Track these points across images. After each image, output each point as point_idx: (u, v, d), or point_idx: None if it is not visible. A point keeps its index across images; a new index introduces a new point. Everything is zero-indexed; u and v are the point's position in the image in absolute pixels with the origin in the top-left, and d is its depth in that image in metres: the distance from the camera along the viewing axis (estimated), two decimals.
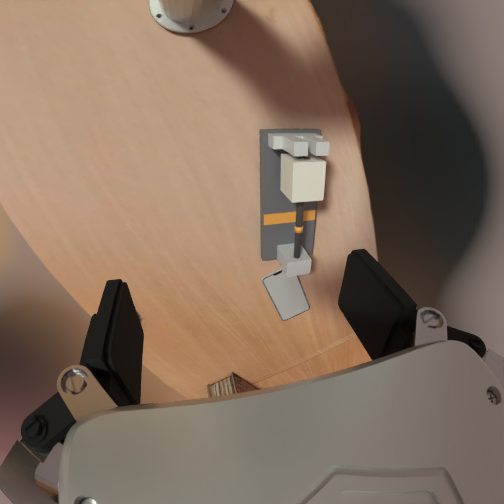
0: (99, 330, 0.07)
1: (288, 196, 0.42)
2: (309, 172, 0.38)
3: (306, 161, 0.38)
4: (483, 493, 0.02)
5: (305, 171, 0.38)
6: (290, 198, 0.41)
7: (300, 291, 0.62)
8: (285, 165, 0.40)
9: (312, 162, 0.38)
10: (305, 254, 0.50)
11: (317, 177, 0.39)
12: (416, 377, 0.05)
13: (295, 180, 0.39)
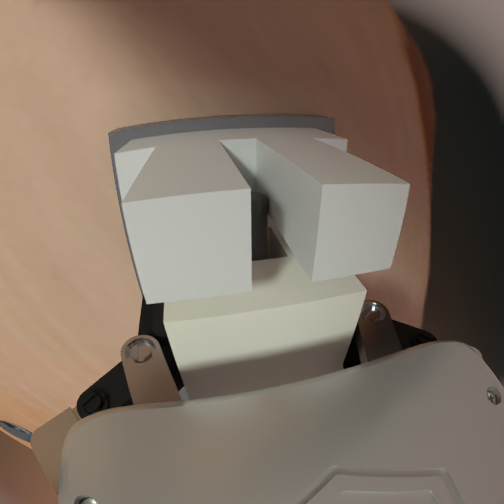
0: None
1: None
2: (268, 349, 0.07)
3: (253, 299, 0.07)
4: (483, 493, 0.02)
5: (248, 350, 0.07)
6: None
7: None
8: None
9: (289, 306, 0.07)
10: None
11: (311, 358, 0.08)
12: (416, 377, 0.05)
13: (200, 385, 0.07)
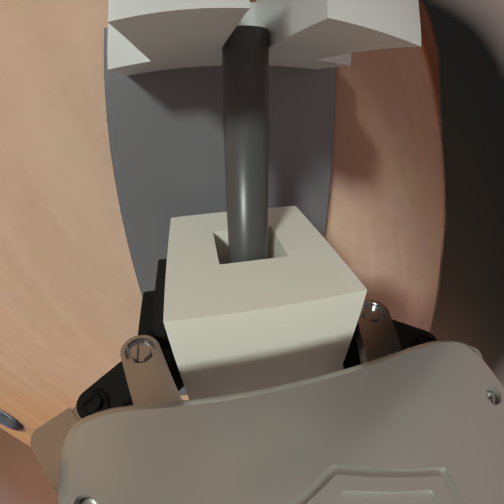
0: (161, 301, 0.09)
1: None
2: (268, 348, 0.07)
3: (253, 299, 0.07)
4: (483, 493, 0.02)
5: (248, 349, 0.07)
6: None
7: None
8: None
9: (289, 305, 0.07)
10: None
11: (311, 358, 0.08)
12: (416, 377, 0.05)
13: (200, 384, 0.07)
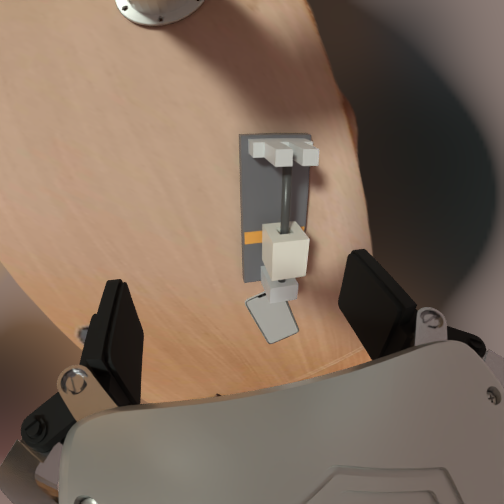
0: (99, 330, 0.07)
1: (268, 272, 0.40)
2: (290, 251, 0.37)
3: (287, 239, 0.37)
4: (483, 493, 0.02)
5: (286, 250, 0.37)
6: (270, 275, 0.39)
7: (288, 314, 0.56)
8: (266, 239, 0.39)
9: (294, 241, 0.37)
10: None
11: (299, 255, 0.38)
12: (416, 377, 0.05)
13: (275, 260, 0.38)
